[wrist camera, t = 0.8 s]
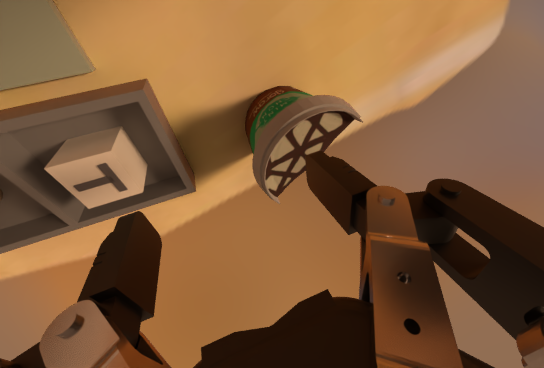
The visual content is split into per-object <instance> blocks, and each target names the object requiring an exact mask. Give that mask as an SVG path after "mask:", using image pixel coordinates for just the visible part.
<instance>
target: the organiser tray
mask: <svg viewBox="0 0 544 368" xmlns="http://www.w3.org/2000/svg"><path fill="white" fill-rule="evenodd" d="M119 126H122V127H123V129H124V130H125V132H126V133H127V135H128V136H129V138H130V139H131V141H132V142H133V144H134V145H135V147H136V148H137V150H138V151H139V153H140V154H141V156H142V157H143V159H144V160H145V162H146V163H147V171H146V177H145V184H144V190H143V192H142V193H139V194H136V195H133V196H129V197H126V198H123V199H120V200H116V201H113V202H110V203H107V204H103V205H100V206H97V207H94V208H90V209H88V208H87V207H86V206H85V205H84V204H83V203H82V202H81V201H79V200H78V199H77V198H76V197H75V196H74V195H73V194H72V193H71V192H69V191H68V190H67V189H66V188H65V187H64V186H63V185H62V184H60V183H59V182H58V181H57V180H56V179H55V178H54V177H53V176H52V175H50V174H49V173H48V172H47V171H46V170H45V169H44V168H45V167H46V165H47V164H48V163H49V162H50V160H51V159H52V158H53V157H54V155H55V154H56V153H57V151H58V150H59V149H60V148H61V146H62V145H63V144H64V143H65V141H66V140H67V139H71V138H75V137H79V136H83V135H87V134H91V133H95V132H99V131H103V130H107V129H111V128H115V127H119ZM0 189H1V190H2V192H3V198H2V200H1V201H0V254H1V253H4V252H8V251H11V250H14V249H17V248H20V247H23V246H26V245H29V244H33V243H36V242H39V241H42V240H45V239H48V238H51V237H54V236H58V235H61V234H64V233H67V232H70V231H73V230H76V229H79V228H83V227H86V226H89V225H92V224H95V223H98V222H101V221H105V220H108V219H111V218H114V217H117V216H120V215H123V214H126V213H130V212H133V211H136V210H139V209H142V208H145V207H148V206H151V205H155V204H158V203H161V202H164V201H167V200H170V199H173V198H176V197H180V196H183V195H186V194H189V193H192V192H195V191H196V186H195V178H194V173H193V171H192V169H191V167H190V165H189V163H188V161H187V159H186V157H185V155H184V153H183V151H182V149H181V147H180V145H179V143H178V141H177V139H176V137H175V135H174V133H173V131H172V129H171V127H170V125H169V123H168V121H167V118H166V116H165V114H164V112H163V110H162V108H161V106H160V104H159V102H158V100H157V98H156V96H155V94H154V92H153V90H152V88H151V86H150V84H149V82H148V80H147V79H143V80H138V81H133V82H129V83H124V84H119V85H115V86H110V87H106V88H101V89H96V90H92V91H87V92H82V93H78V94H73V95H69V96H64V97H59V98H55V99H50V100H45V101H41V102H36V103H32V104H27V105H22V106H18V107H13V108H8V109H4V110H0Z"/></svg>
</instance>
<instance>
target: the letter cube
mask: <svg viewBox="0 0 544 368" xmlns="http://www.w3.org/2000/svg"><path fill="white" fill-rule="evenodd" d="M44 169H45V170H46V171H47V172H48V173H49V174H50V175H52V176H53V177H54V178H55V179H56V180H57V181H58V182H59V183H60V184H62V185H63V186H64V187H65V188H66V189H67V190H68V191H69V192H71V193H72V194H73V195H74V196H75V197H76V198H77V199H78V200H79V201H81V202H82V203H83V204H84V205H85V206H86V207H87V208H88V209H90V208H94V207H97V206H100V205H103V204H107V203H110V202H113V201H116V200H120V199H123V198H126V197H129V196H133V195H136V194H139V193H142V192H143V190H144V184H145V177H146V171H147V163H146V162H145V160H144V159H143V157H142V156H141V154H140V153H139V151H138V150H137V148H136V147H135V145H134V144H133V142H132V141H131V139H130V138H129V136H128V135H127V133H126V132H125V130H124V129H123V127H122V126H119V127H115V128H111V129H107V130H103V131H99V132H95V133H91V134H87V135H83V136H79V137H75V138H71V139H67V140H66V141H65V143H64V144H63V145H62V146H61V148H60V149H59V150H58V151H57V153H56V154H55V155H54V157H53V158H52V159H51V160H50V162H49V163H48V164H47V165H46V167H45V168H44Z"/></svg>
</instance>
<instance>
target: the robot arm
mask: <svg viewBox="0 0 544 368" xmlns="http://www.w3.org/2000/svg"><path fill="white" fill-rule="evenodd" d="M305 163H306V174H307V182H308V185H309V188H310V189H311V191H312V192H313V193H314V194H315V196H316V197H317V198H318V199H319V201H320V202H321V203H322V204H323V205H324V206H325V208H326V209H327V210H328V211H329V212H330V214H331V215H332V216H333V217H334V218H335V219H336V220H337V222H338V223H339V224H340V225H341V227H342V228H343V229H344V230H345V231H346V233H347V234H348V235H350V234H352V233H355V232H358V233H359V234H360V235H361V237H360V287H359V288H360V289H359V299H355V298H350V297H332V296H331V294H330V293H329V291H328V289H327V290H325V291H323V292H320V293H318V294H316V295H314V296H312V297H310V298H307V299H305V300H303V301H301V302H299V303H298V304H297V305H295V306H294V307H293V308H292V309H291V310H290V311H288V312H287V313H286V314H285V315H284V316H283V317H281V318H280V319H279V320H278V321H277V322H276V323H275V324H273V325H272V326H270V327H265V328H259V329H252V330H246V331H239V332H234V333H232V334H230V335H227V336H225V337H223V338H221V339H219V340H217V341H214V342H212V343H210V344H208V345H206V346H204V347H201V353H202V354H201V355H202V360H201V361H200V362H198V363H197V364H196V365H195V366H194V367H193V368H494V367H492V366H490V365H488V364H487V363H484V362H483V361H481V360H479V359H477V358H475V357H473V356H471V355H469V354H467V353H465V352H463V351H461V350H460V349H458V347H457V344H456V340H455V337H454V333H453V329H452V326H451V322H450V319H449V315H448V312H447V308H446V305H445V302H444V298H443V294H442V291H441V287H440V284H439V281H438V277H437V273H436V270H435V266H434V262H435V263H436V264H437V265H438V266H439V267H440V268H441V269H442V270H444V272H446V273H447V274H448V275H449V276H450V277H451V278H452V279H453V280H454V281H455V282H456V283H457V284H458V285H459V286H460V287H461V288H462V289H463V290H464V291H465V292H466V293H467V294H468V295H469V296H471V297H472V298H473V299H474V300H475V301H476V302H477V303H478V304H479V305H480V306H481V307H482V308H483V309H484V310H485V311H486V312H487V313H488V314H489V315H490V316H491V317H492V318H493V319H494V320H496V322H498V323H499V324H500V325H501V326H502V327H503V328H504V329H505V330H506V331H507V332H508V333H509V334H510V335H511V336H512V337H513V338H514V339H515V340H516V343H517V347H518V350H519V352H520V354H521V356H522V360H521V361H522V364H523V366H524V368H544V227H542V226H540V225H538V224H536V223H535V222H533V221H531V220H529V219H528V218H526V217H524V216H522V215H520V214H518V213H517V212H515V211H513V210H511V209H509V208H508V207H506V206H504V205H502V204H500V203H498V202H497V201H495V200H493V199H491V198H490V197H488V196H486V195H484V194H482V193H481V192H479V191H477V190H475V189H473V188H472V187H470V186H468V185H466V184H464V183H462V182H459V181H456V180H451V179H435V180H432V181H431V182H429V183H428V185H427V188H426V191H422V192H414V193H404V192H402V191H401V190H399V189H397V188H394V187H390V186H377V185H375V184H374V183H373V182H371V181H370V180H369V179H367V178H366V177H365V176H363V175H362V174H361V173H359V172H358V171H356V170H355V169H354V168H353V167H351V166H350V165H349V164H348V163H346V162H345V161H344V160H342V159H339V158H336V157H333V156H332V157H329V156H327V155H326V154H325V153H324V152H322V151H321V150H319V151H316V152H313V153H310V154H308V155H306V156H305ZM458 228H460V229H461V230H462V231H464V232H465V233H466V234H468V235H469V236H470V237H472V238H473V239H475V240H476V241H477V242H479V243H480V244H481V245H483V246H484V247H485V248H486V249H487V251H488V252H489V254H490V259H489V258H488V257H487V256H485V255H484V254H483V253H481V252H480V251H479V250H477V249H476V248H475V247H473V246H472V245H471V244H470V243H468V242H467V241H466V240H464V239H463V238H462V237H460V236H459V235H458V234H457V233H456V231H457V229H458ZM161 248H162V242H161V238H160V235H159V233H158V232H157V231H156V230H155V228H154V227H153V226H152V224H151V223H150V222H149V221H148V219H147V218H146V217H145V216H144V214H143V213H142V212H140V211H137V212H134V213H131V214H128V215H125V216H123V217H120V218H119V219H118V221H117V223H116V226H115V229H114V231H113V232H111V233H110V234H109V235H108V236H107V237H106V239H105V240H104V241H103V242H102V244H101V246H100V248H99V250H98V253H97V257H96V258H95V260H94V262H93V267H92V268H91V270H90V272H89V274H88V277H87V279H86V282H85V284H84V287H83V289H82V292H81V294H80V296H79V298H78V301H77V303H75V304H73V305H71V306H70V307H68V308H67V309H66V310H64V311H63V312H62V313H61V314H59V315H58V316H57V317H56V318H55V319H54V320H53V321H52V323H51V324H50V325H49V326H48V328H47V329H46V331H45V333H44V334H43V336H42V338H41V341H40V342H39V343H37V344H36V345H34V346H33V347H31V348H30V349H28V350H27V351H25V352H24V353H22V354H21V355H19V356H17V357H16V358H15V359H13V360H11V361H8V360H4V359H1V358H0V368H171V367H170V365H169V364H168V363H167V362H166V361H165V360H164V358H163V357H162V356H161V355H160V353H159V352H158V351H157V350H156V349H155V347H154V346H153V345H152V344H151V343H150V341H149V340H148V339H147V338H146V336H145V335H144V334H143V333H142V332H141V331H140V324H141V322H142V321H144V320H147V319H149V318H151V317H153V316H154V309H155V300H156V292H157V283H158V274H159V266H160V257H161ZM433 261H434V262H433Z"/></svg>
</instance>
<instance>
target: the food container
mask: <svg viewBox="0 0 544 368" xmlns="http://www.w3.org/2000/svg"><path fill="white" fill-rule="evenodd" d="M354 119H355V120H358V121H360V122H362V123H363V121H362V120H361V119H360V115H359V114H358V113H357V112H356V111H355V110H354V109H353V108H352V106H351V105H350V104H349V103H347V102H346V101H344V100H343V99H340V98H338V97H335V96H330V95H316V96H312V95H310V94H307V93H305V92H303V91H300V90H298V89H295V88H293V87H290V86H277V87H274V88H271V89H268V90H266V91H265V92H263V93H262V94H260V95H259V96H258V97H257V98H256V99H255V100H254V101H253V103H252V104H251V106H250V108H249V110H248V112H247V116H246V121H245V130H246V134H247V137H248V140H249V143H250V146H251V149H252V152H253V154H254V155H253V173H254V176H255V179H256V181H257V183H258V184H259V186H260V187H261V188H262V190H263V191H264V192H265V193H266V194H267V195H268V196H269V197H270V198H271V199H273V200H274V201H276V202H277V203H279V204H280V202H279V199H278V196H279V195H280V194H281V193H282V192H283V190H284V189H285V188H286V187H287V186H288V185H289V184H290V183H291V182H292V181H293V180H294V179H295V178H297V177H298V176H299V175H300V174H302V173H303V172H304V171H306V163H305V156H306V155H308V154H310V153H313V152H316V151H319V150H321V151H322V152H324V151H325V150H326V149H327V147H328V146H329V145H330V144H331V143H332V141H333V140H334V139H335V138H336V137H337V136H338V135H339V134H340V133H341V132H342V131H343V130H344V129H345V128H346V127H347V126H348V125H349V124H350V123H351V122H352V121H353V120H354Z"/></svg>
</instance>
